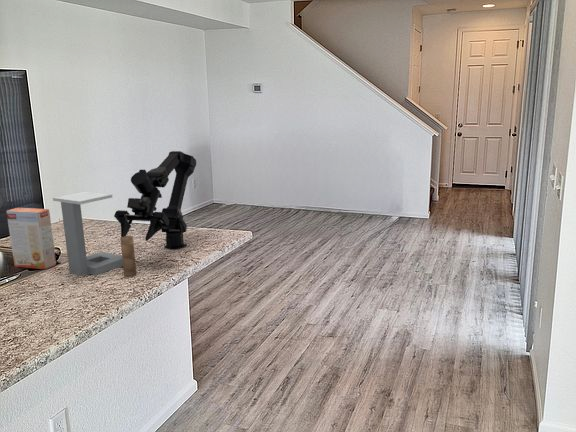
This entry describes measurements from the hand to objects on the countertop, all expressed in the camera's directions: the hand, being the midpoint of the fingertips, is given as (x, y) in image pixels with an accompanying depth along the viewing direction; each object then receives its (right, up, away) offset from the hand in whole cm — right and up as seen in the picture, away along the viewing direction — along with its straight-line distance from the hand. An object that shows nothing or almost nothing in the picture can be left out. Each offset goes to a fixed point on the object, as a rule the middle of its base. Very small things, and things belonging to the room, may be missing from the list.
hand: (134, 239), depth 179 cm
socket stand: (-16, -10, +7) cm, 20 cm away
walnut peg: (-1, -12, -1) cm, 12 cm away
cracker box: (-38, -10, +10) cm, 41 cm away
